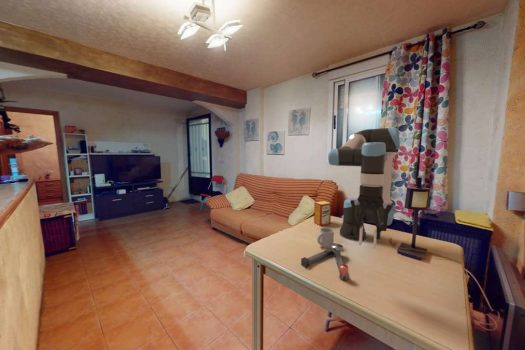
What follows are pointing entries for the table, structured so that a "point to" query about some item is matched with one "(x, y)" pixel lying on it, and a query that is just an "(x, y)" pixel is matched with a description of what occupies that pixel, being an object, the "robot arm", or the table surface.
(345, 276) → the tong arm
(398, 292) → the table surface
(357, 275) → the table surface
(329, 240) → the cup
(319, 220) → the baking soda box
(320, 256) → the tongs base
